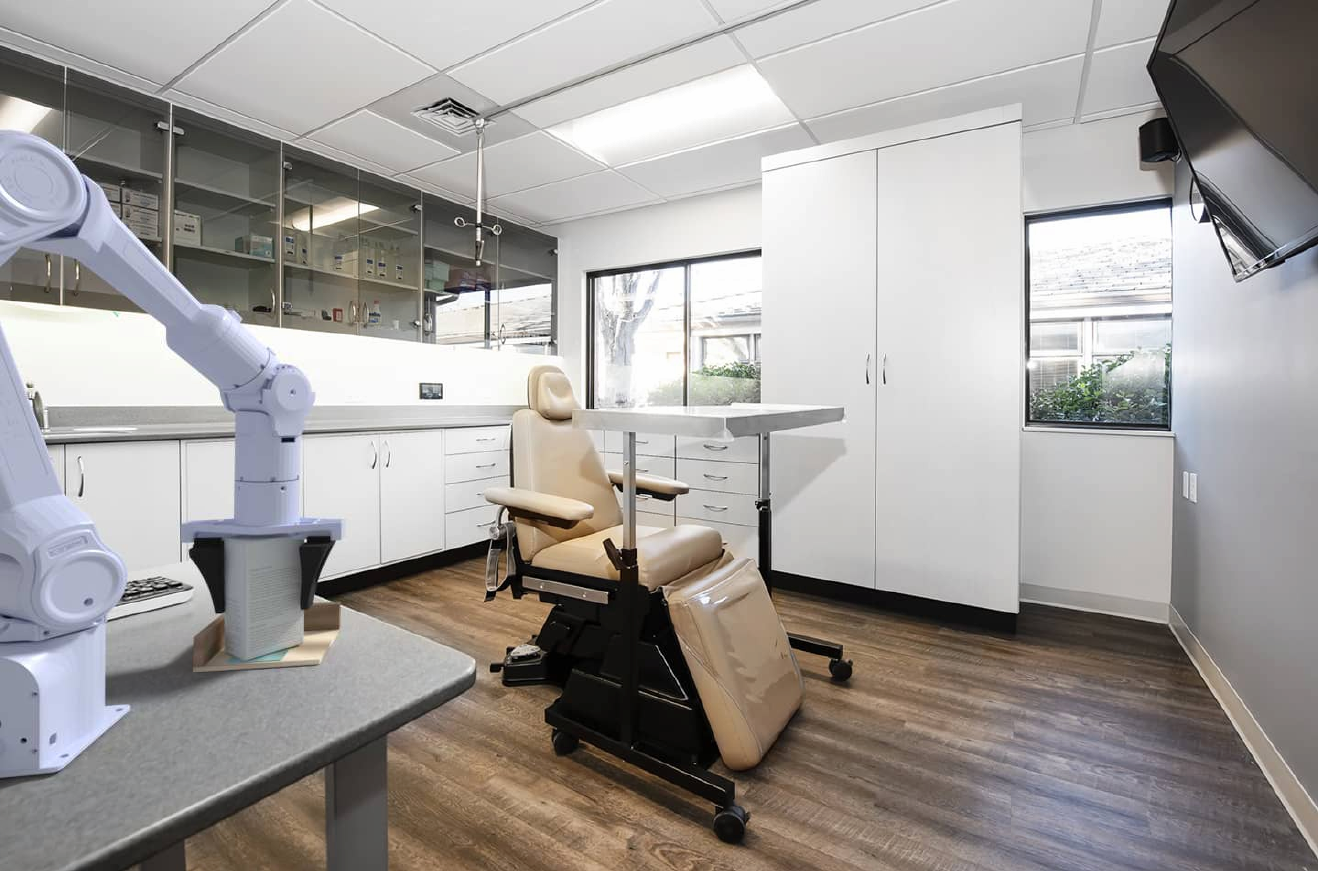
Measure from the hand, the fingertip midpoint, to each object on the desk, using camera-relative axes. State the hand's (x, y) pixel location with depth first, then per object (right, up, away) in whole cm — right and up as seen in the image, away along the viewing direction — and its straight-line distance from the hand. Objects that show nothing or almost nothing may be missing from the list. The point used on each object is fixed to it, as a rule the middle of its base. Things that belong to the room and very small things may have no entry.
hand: (265, 608), depth 65 cm
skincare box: (0, -4, 0) cm, 4 cm away
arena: (0, -5, +1) cm, 5 cm away
